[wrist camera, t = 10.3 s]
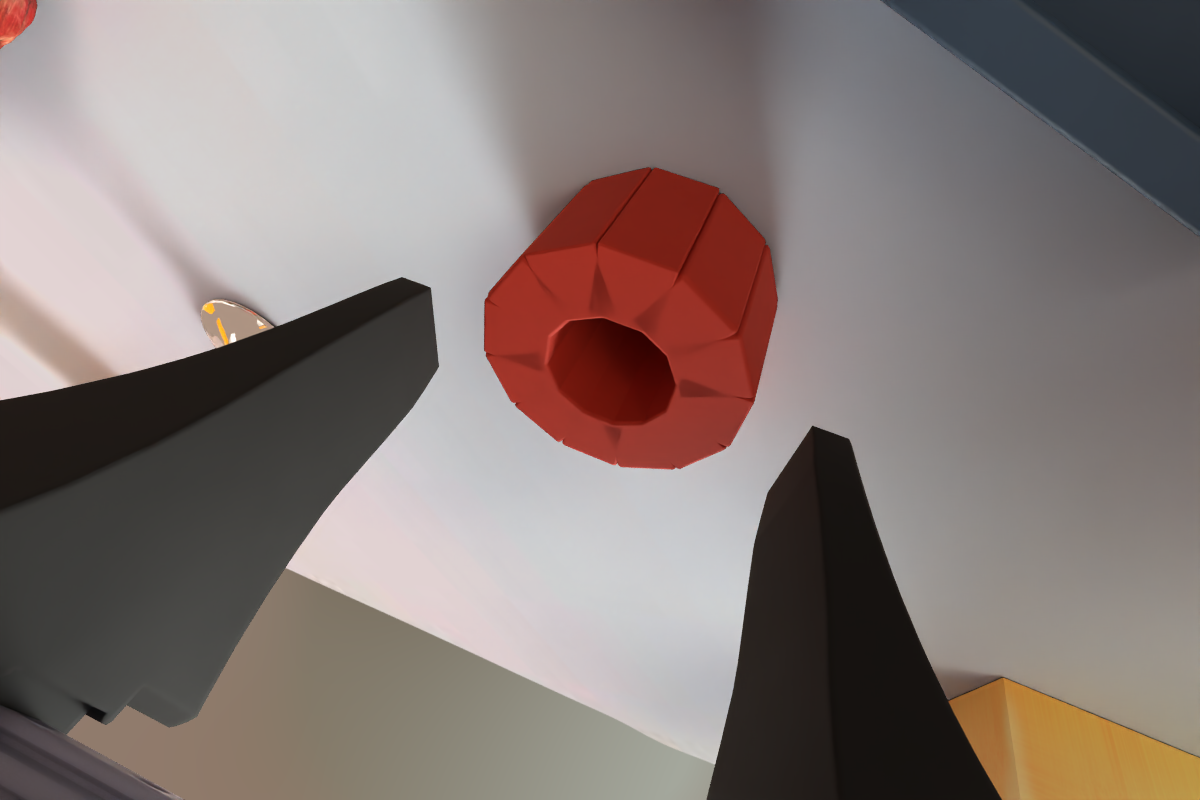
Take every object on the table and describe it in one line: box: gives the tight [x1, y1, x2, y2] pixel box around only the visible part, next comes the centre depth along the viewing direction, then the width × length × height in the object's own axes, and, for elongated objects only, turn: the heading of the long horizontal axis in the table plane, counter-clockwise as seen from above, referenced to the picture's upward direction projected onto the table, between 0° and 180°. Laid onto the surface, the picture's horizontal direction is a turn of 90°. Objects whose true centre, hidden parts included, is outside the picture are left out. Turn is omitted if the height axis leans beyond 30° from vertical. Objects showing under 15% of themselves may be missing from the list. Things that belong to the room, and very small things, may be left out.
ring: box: [484, 167, 778, 469], centre depth 12 cm, size 5×5×3 cm
